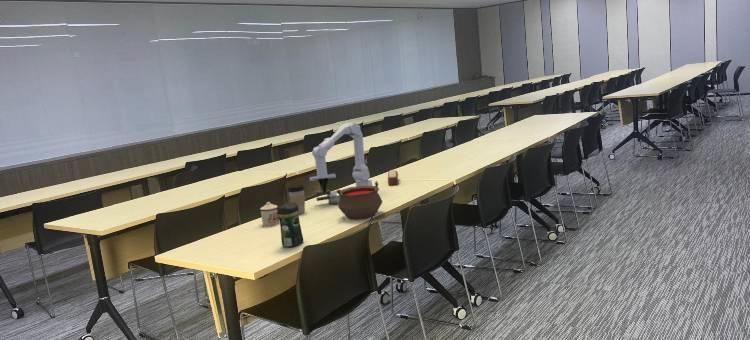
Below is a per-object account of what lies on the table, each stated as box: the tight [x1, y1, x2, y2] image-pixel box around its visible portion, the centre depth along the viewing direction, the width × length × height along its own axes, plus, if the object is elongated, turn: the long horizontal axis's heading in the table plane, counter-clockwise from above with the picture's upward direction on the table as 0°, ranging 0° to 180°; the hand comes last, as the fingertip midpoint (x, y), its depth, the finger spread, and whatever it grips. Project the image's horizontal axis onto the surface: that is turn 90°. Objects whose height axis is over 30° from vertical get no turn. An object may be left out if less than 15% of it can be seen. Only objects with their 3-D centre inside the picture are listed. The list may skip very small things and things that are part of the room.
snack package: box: [387, 169, 399, 187], centre depth 368 cm, size 21×7×7 cm, turn 177°
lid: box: [315, 189, 340, 197], centre depth 328 cm, size 20×14×4 cm
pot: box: [315, 195, 340, 206], centre depth 329 cm, size 22×13×4 cm, turn 103°
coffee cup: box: [287, 184, 306, 216], centre depth 312 cm, size 9×9×15 cm
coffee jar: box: [277, 202, 304, 248], centre depth 253 cm, size 10×8×19 cm
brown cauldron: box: [337, 180, 383, 221], centre depth 290 cm, size 24×24×16 cm
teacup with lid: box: [259, 201, 280, 228], centre depth 296 cm, size 12×9×12 cm
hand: (324, 191), depth 322 cm, fingers closed
